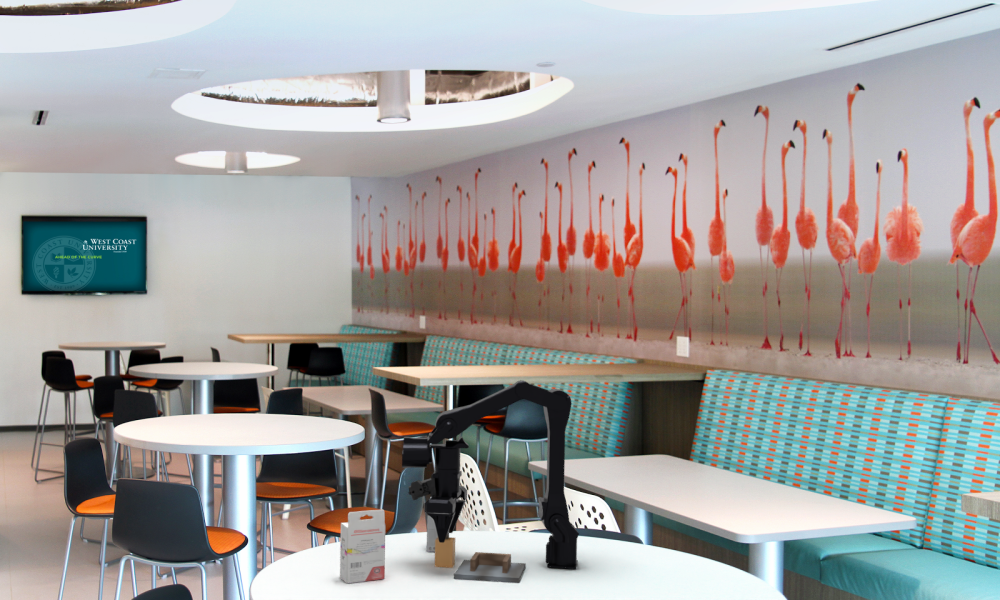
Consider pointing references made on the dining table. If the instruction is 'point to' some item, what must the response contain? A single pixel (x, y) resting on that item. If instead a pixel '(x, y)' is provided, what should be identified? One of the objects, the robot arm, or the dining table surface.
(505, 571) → the end holder
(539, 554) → the dining table surface
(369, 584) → the dining table surface
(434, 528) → the skincare box
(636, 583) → the dining table surface
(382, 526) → the ink cartridge box
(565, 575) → the dining table surface
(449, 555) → the connector plug
